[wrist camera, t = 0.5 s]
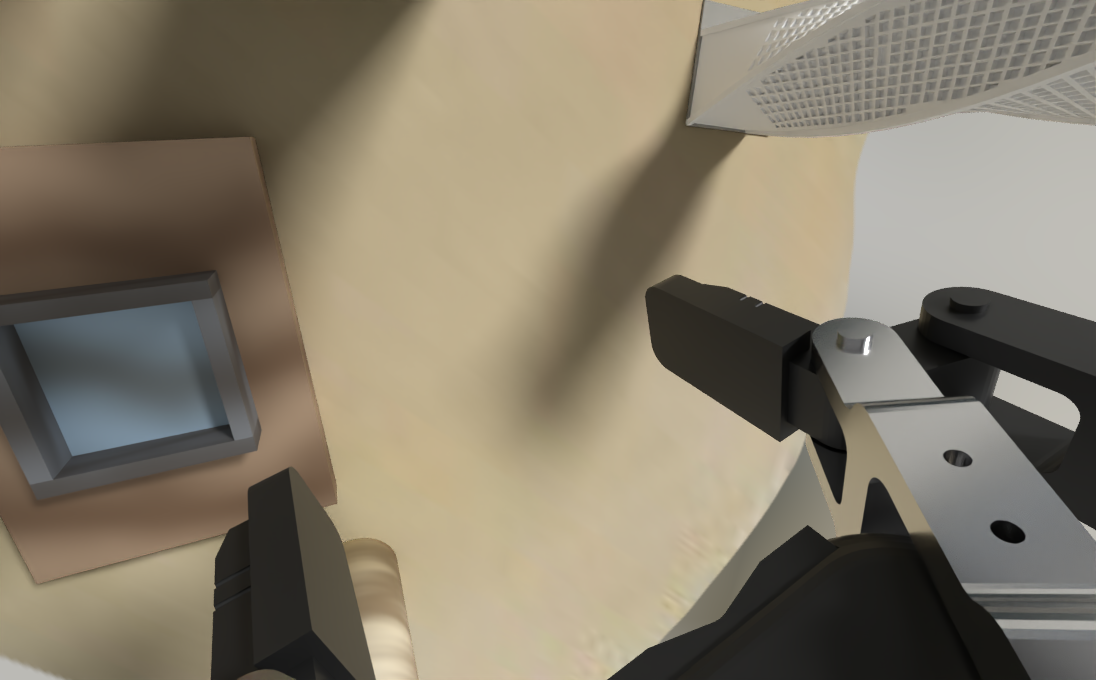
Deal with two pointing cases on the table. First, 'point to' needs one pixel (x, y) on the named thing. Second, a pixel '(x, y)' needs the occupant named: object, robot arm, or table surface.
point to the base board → (144, 350)
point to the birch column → (382, 608)
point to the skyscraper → (891, 64)
